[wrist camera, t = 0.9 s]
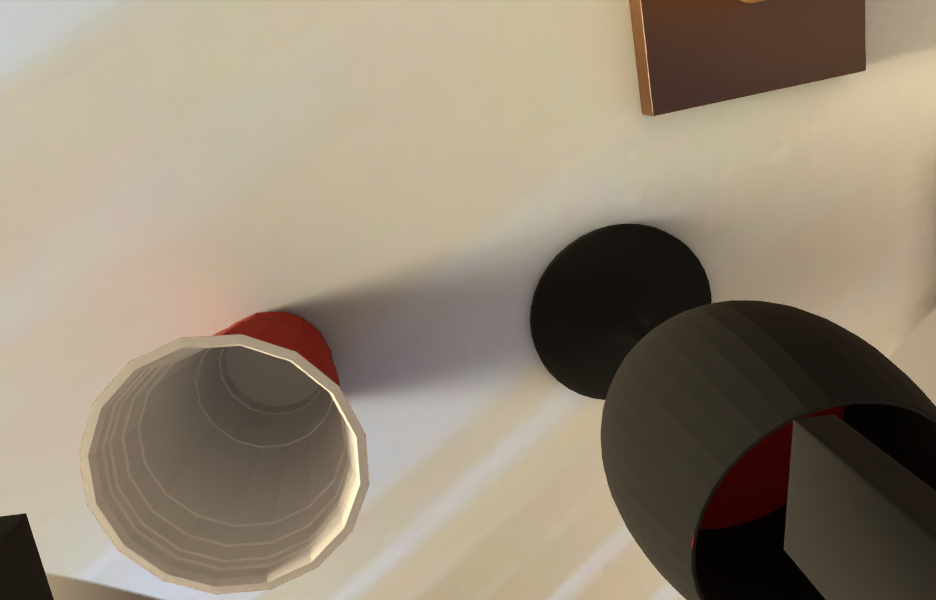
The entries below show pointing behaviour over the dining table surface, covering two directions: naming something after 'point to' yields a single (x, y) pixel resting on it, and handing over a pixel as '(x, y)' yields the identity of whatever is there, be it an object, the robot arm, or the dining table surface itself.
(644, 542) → the wine glass
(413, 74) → the dining table surface
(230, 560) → the plastic cup
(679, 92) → the peg rack
